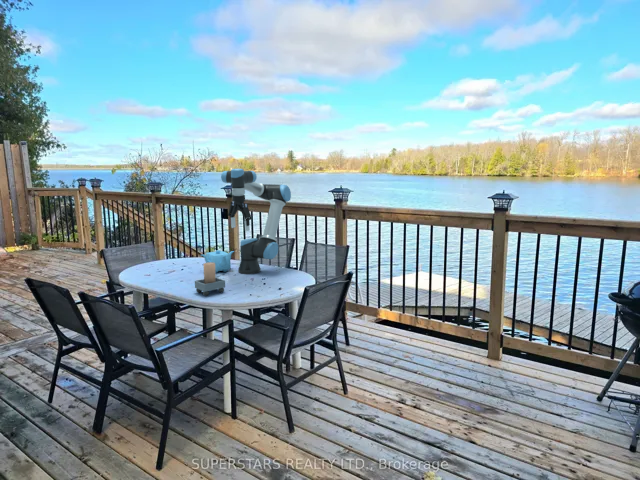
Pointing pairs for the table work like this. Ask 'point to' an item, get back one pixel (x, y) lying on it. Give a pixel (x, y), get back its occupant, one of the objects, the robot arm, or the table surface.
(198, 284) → the caster cart
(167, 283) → the table surface
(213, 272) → the canister
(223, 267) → the teakettle
